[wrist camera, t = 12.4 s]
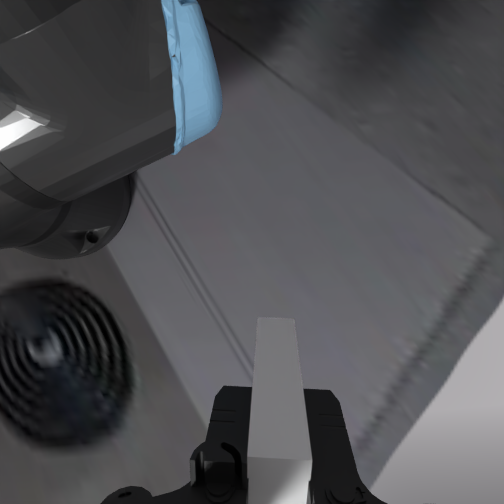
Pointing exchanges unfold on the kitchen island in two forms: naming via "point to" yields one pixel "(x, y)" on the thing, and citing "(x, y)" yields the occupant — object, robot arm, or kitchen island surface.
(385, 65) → the kitchen island surface
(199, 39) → the robot arm
